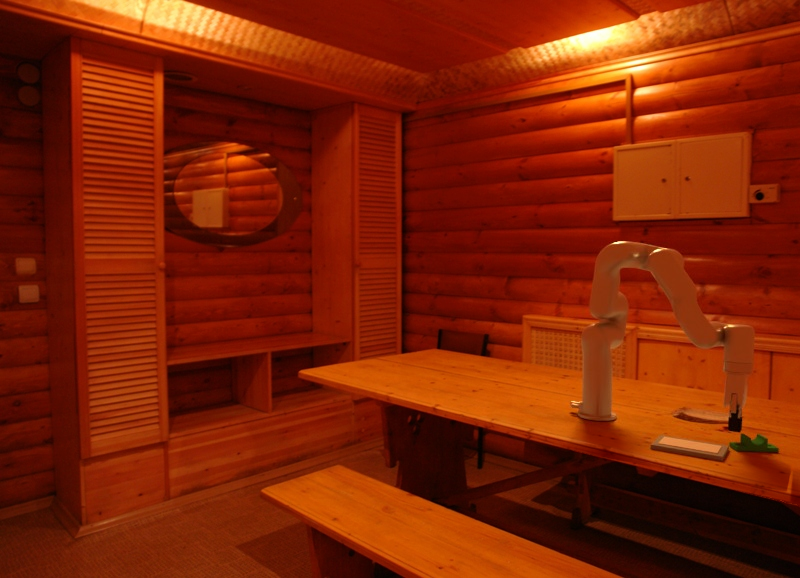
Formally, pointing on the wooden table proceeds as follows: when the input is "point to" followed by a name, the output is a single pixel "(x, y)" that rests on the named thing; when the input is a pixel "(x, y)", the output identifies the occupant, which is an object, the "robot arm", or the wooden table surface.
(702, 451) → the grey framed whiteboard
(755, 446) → the pipe clamp
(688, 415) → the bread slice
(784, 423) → the wooden table surface
